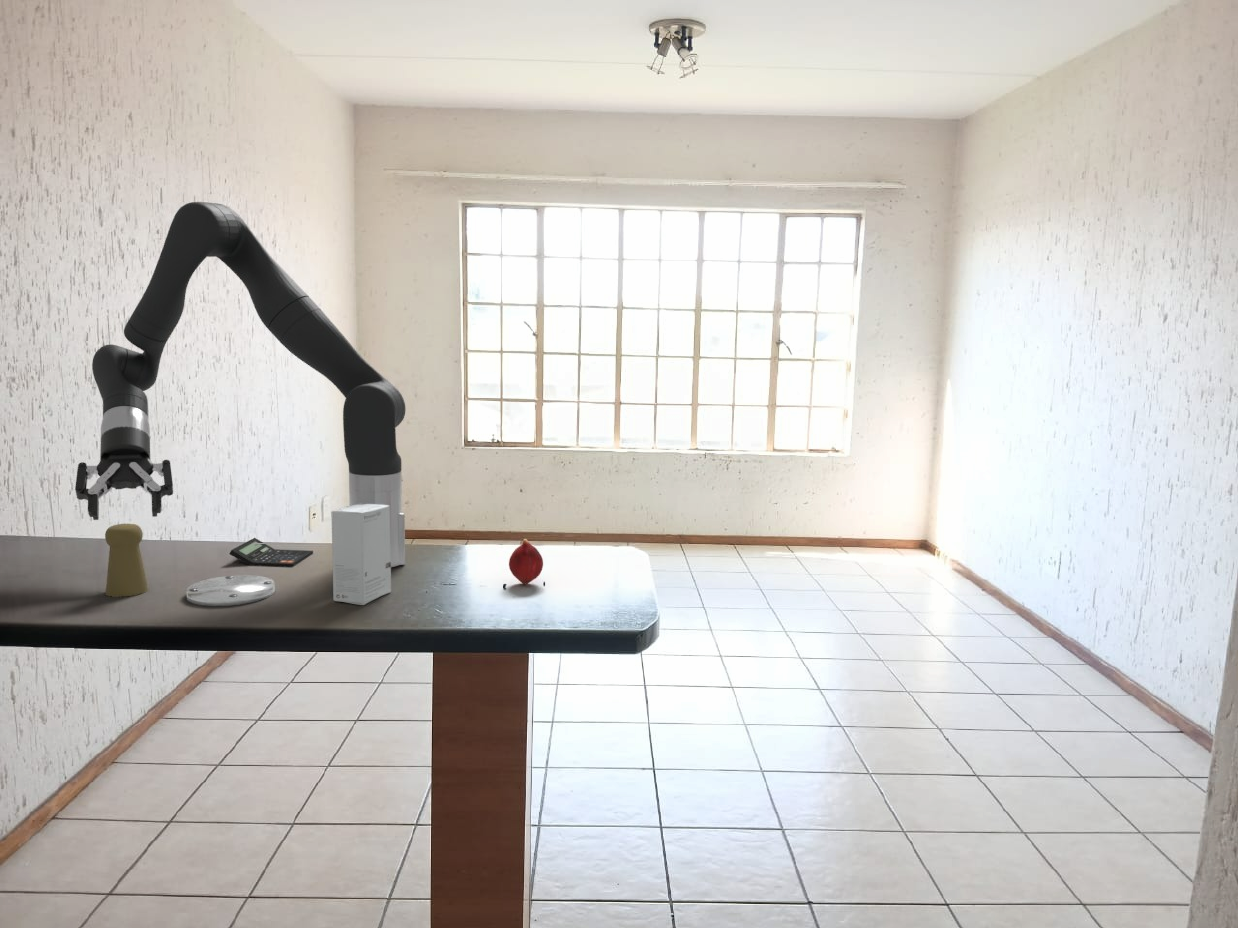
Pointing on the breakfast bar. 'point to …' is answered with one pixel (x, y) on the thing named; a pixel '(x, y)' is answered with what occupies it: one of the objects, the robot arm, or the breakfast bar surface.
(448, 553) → the breakfast bar surface
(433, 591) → the breakfast bar surface
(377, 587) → the skincare box
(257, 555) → the calculator
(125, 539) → the cork
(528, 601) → the breakfast bar surface
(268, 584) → the flange
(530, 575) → the onion
